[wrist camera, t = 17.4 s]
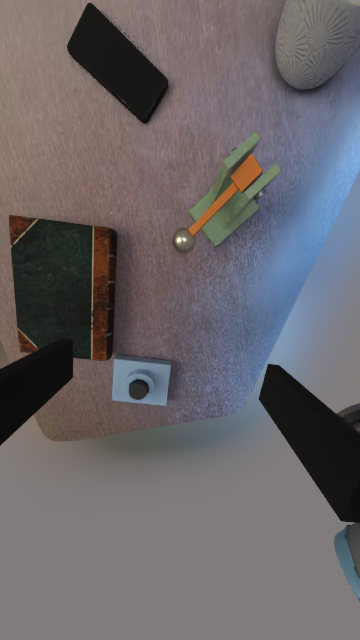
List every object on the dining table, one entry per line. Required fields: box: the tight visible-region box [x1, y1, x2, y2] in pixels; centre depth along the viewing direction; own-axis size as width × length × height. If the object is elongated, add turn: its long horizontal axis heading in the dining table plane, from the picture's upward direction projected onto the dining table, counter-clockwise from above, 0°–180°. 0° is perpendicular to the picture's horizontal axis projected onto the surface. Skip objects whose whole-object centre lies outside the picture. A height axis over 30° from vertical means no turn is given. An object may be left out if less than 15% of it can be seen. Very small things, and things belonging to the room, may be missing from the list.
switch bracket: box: [189, 131, 281, 247], centre depth 27 cm, size 10×8×14 cm
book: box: [9, 215, 116, 361], centre depth 35 cm, size 17×4×25 cm
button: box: [129, 380, 148, 400], centre depth 36 cm, size 4×4×2 cm
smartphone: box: [67, 3, 168, 123], centre depth 28 cm, size 7×1×15 cm
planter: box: [275, 0, 360, 90], centre depth 23 cm, size 12×12×11 cm
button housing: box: [112, 355, 171, 406], centre depth 39 cm, size 12×10×4 cm
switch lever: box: [172, 154, 263, 253], centre depth 25 cm, size 14×4×4 cm, turn 131°
